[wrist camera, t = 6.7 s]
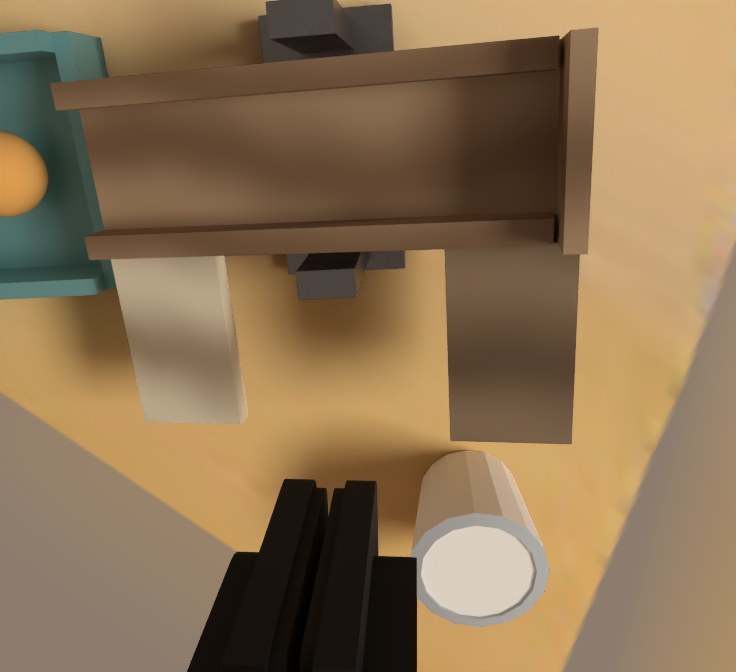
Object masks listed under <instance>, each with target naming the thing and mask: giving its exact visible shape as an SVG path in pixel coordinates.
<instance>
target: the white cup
mask: <svg viewBox="0 0 736 672" xmlns="http://www.w3.org/2000/svg"><path fill="white" fill-rule="evenodd" d="M411 557H417V597H418V599H419V600H420V601H421V602H422V603H423V604H424V605H425V606H426V607H427V608H428V609H429V610H430V611H431V612H432V613H434V614H436V615H438V616H440V617H442V618H444V619H446V620H448V621H451V622H453V623H455V624H462V625H470V626H478V627H484V626H489V625H495V624H501V623H506V622H509V621H511V620H512V619H514V618H516V617H518V616H520V615H521V614H523V613H525V612H527V611H529V610H530V609H531V608H532V606H533V605H534V604H535V603H536V601H537V600H538V599H539V598H540V597H541V595H542V594H543V593H544V592H545V587H546V583H547V579H548V575H549V571H550V569H549V565H548V561H547V557H546V554H545V550H544V547H543V544H542V542H541V540H540V537H539V535H538V533H537V531H536V528H535V526H534V524H533V521H532V519H531V517H530V514H529V512H528V510H527V508H526V505H525V503H524V501H523V498H522V496H521V494H520V491H519V489H518V487H517V485H516V482H515V480H514V478H513V475H512V474H511V472H510V471H509V470H508V469H507V468H506V466H505V465H504V464H503V463H502V462H501V461H500V460H498V459H496V458H494V457H492V456H490V455H488V454H486V453H484V452H477V451H468V450H464V451H459V452H455V453H451V454H447V455H445V456H444V457H442V458H441V459H439V460H438V461H436V462H435V463H433V464H432V465H431V466H430V468H429V469H428V471H427V472H426V474H425V475H424V477H423V478H422V485H421V491H420V498H419V505H418V511H417V518H416V524H415V531H414V538H413V544H412V551H411Z"/></svg>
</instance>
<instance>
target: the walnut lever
mask: <svg viewBox="0 0 736 672" xmlns="http://www.w3.org/2000/svg"><path fill="white" fill-rule="evenodd" d="M597 46H598V28H590V29H579V30H571V31H570V32H568V33H567V34H566V35H565V36H564V37H563V38H562V39H559V36H550V37H539V38H528V39H518V40H507V41H496V42H485V43H475V44H464V45H453V46H443V47H432V48H421V49H411V50H400V51H389V52H378V53H368V54H357V55H346V56H336V57H325V58H314V59H303V60H293V61H282V62H271V63H261V64H250V65H239V66H228V67H218V68H207V69H196V70H186V71H175V72H164V73H153V74H143V75H132V76H121V77H111V78H100V79H89V80H79V81H68V82H57V83H50V86H51V90H52V95H53V99H54V104H55V108H56V110H79V112H80V117H81V121H82V126H83V131H84V136H85V140H86V145H87V150H88V154H89V159H90V164H91V169H92V173H93V178H94V183H95V187H96V192H97V197H98V202H99V206H100V211H101V216H102V220H103V225H104V230H103V231H100V232H97V233H94V234H91V235H88V236H85V237H84V238H85V242H86V247H87V251H88V256H89V260H105V259H111V263H112V268H113V272H114V277H115V282H116V286H117V291H118V296H119V301H120V305H121V310H122V315H123V319H124V324H125V329H126V334H127V338H128V343H129V348H130V352H131V357H132V362H133V367H134V371H135V376H136V381H137V385H138V390H139V395H140V400H141V404H142V409H143V414H144V418H145V422H165V423H205V424H242V422H243V421H244V420H245V418H246V417H247V416H248V409H247V403H246V396H245V389H244V383H243V376H242V369H241V363H240V356H239V349H238V343H237V336H236V329H235V323H234V316H233V309H232V303H231V296H230V289H229V283H228V276H227V269H226V263H225V256H235V255H268V254H300V253H333V252H365V251H398V250H431V249H445V276H446V309H447V342H448V376H449V409H450V441H475V442H510V443H545V444H572V420H573V397H574V374H575V350H576V327H577V304H578V281H579V257H580V254H588V236H589V215H590V194H591V173H592V152H593V131H594V110H595V89H596V67H597Z"/></svg>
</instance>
